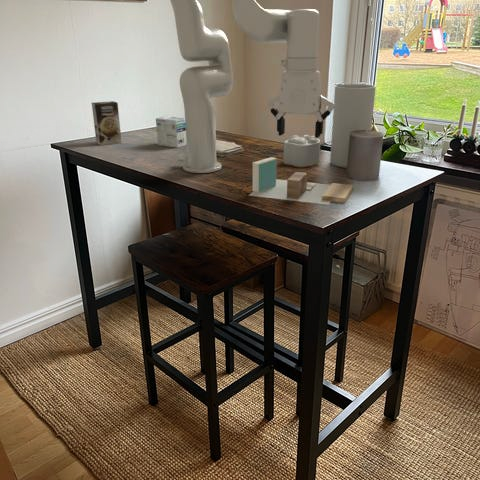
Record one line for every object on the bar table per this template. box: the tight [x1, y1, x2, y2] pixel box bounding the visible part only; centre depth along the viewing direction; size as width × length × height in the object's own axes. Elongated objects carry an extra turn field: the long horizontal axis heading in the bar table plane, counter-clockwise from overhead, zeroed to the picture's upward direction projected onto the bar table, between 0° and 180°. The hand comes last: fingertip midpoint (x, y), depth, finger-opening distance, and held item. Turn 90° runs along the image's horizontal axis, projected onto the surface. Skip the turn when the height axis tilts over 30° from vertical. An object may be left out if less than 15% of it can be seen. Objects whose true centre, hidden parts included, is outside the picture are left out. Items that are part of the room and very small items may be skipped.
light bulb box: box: [155, 115, 187, 148], centre depth 188 cm, size 11×7×11 cm, turn 58°
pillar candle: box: [345, 129, 385, 182], centre depth 141 cm, size 10×10×15 cm
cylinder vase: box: [329, 83, 377, 169], centre depth 155 cm, size 12×12×25 cm
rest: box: [322, 182, 354, 203], centre depth 128 cm, size 6×12×2 cm, turn 158°
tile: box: [252, 156, 278, 192], centre depth 133 cm, size 2×8×8 cm, turn 138°
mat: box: [248, 178, 332, 206], centre depth 132 cm, size 22×17×1 cm
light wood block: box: [286, 171, 317, 199], centre depth 131 cm, size 14×6×5 cm, turn 158°
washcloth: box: [216, 139, 245, 158], centre depth 180 cm, size 12×18×3 cm, turn 47°
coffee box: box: [91, 101, 123, 146], centre depth 192 cm, size 9×6×16 cm
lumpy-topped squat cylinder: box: [283, 134, 321, 168], centre depth 162 cm, size 10×13×9 cm
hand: (299, 135), depth 123 cm, fingers open, 9 cm apart
